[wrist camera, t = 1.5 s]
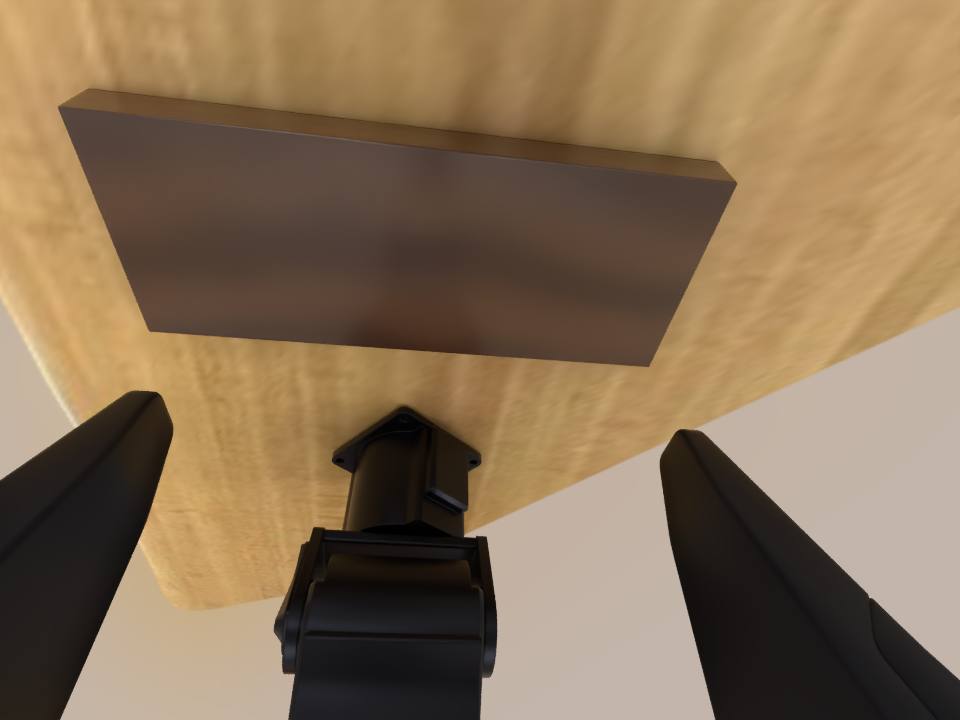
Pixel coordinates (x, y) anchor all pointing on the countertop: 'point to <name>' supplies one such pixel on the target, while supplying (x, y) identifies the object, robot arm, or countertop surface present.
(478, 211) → the cutting board
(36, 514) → the robot arm
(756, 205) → the countertop surface
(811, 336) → the countertop surface
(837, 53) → the countertop surface
